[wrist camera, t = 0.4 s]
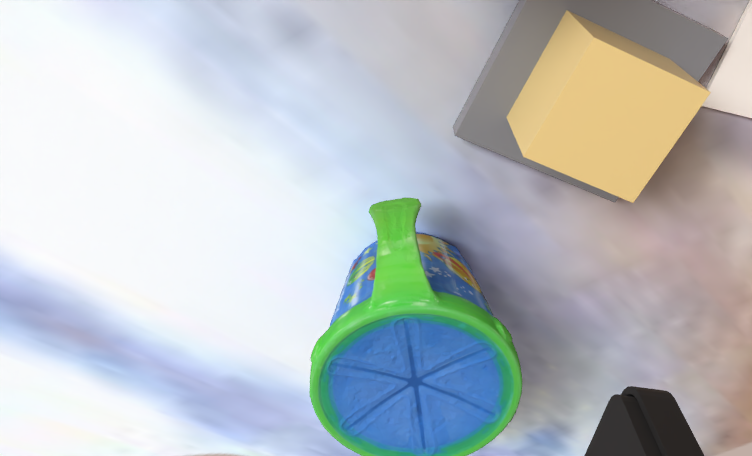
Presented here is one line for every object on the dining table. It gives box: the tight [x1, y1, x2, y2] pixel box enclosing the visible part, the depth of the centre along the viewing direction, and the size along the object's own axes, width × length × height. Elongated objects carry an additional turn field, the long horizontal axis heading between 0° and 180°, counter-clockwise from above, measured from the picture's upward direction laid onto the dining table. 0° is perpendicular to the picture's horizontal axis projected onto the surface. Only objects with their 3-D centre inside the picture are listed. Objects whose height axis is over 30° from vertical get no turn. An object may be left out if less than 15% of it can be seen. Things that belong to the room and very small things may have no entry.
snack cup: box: [310, 198, 522, 456], centre depth 39 cm, size 16×10×10 cm
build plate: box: [453, 0, 728, 203], centre depth 34 cm, size 10×10×6 cm
